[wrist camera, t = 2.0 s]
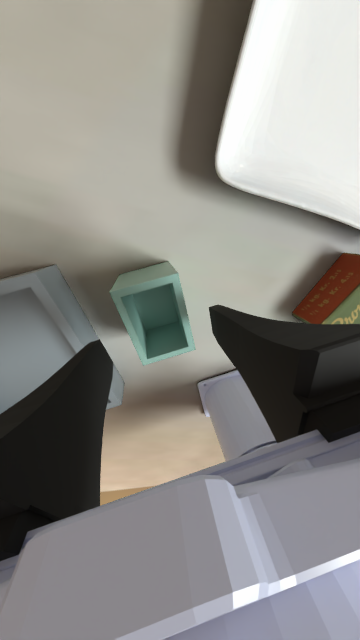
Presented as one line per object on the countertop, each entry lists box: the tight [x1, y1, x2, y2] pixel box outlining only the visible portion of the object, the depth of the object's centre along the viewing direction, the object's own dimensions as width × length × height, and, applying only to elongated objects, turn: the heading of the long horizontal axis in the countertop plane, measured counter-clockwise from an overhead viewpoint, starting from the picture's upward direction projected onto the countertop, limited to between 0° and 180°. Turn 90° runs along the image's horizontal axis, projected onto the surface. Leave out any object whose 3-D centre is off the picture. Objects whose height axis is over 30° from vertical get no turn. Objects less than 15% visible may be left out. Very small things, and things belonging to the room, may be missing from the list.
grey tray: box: [0, 265, 124, 414], centre depth 15 cm, size 15×15×3 cm
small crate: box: [110, 261, 196, 366], centre depth 14 cm, size 4×6×5 cm
